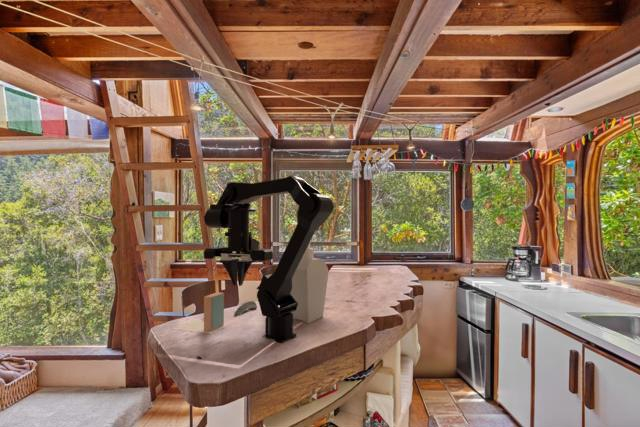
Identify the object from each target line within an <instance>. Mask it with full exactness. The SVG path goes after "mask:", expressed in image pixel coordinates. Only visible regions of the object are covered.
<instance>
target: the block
mask: <svg viewBox="0 0 640 427" xmlns="http://www.w3.org/2000/svg"><path fill="white" fill-rule="evenodd" d="M224 315H225V292H213V293H211V294H208V295H205V296H204V297H203V321H204V331H213V330H215V329H217V328H219V327H221V326H223V325H224V323H225V321H224V320H225V316H224Z"/></svg>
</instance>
